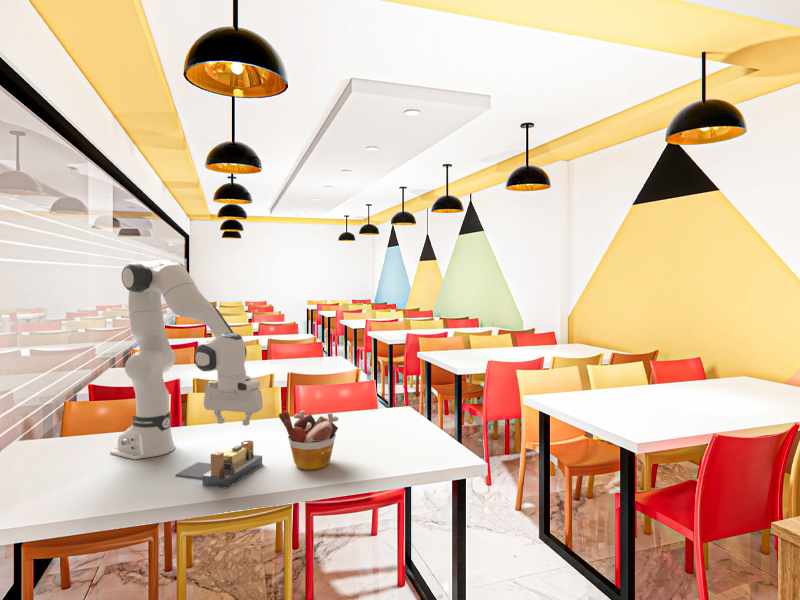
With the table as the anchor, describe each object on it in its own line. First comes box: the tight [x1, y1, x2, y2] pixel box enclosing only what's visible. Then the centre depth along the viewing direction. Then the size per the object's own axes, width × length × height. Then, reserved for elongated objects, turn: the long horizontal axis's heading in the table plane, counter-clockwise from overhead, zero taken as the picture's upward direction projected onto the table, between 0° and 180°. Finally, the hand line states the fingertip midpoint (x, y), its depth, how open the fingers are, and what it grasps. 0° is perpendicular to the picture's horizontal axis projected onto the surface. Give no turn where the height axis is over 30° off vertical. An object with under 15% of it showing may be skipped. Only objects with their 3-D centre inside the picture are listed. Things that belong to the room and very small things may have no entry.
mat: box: [175, 461, 211, 480], centre depth 165 cm, size 11×11×1 cm
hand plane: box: [201, 440, 263, 489], centre depth 162 cm, size 20×9×10 cm, turn 164°
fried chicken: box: [278, 409, 339, 471], centre depth 170 cm, size 20×16×20 cm
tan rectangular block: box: [224, 445, 247, 467], centre depth 162 cm, size 8×4×5 cm, turn 164°
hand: (233, 424), depth 162 cm, fingers open, 8 cm apart
